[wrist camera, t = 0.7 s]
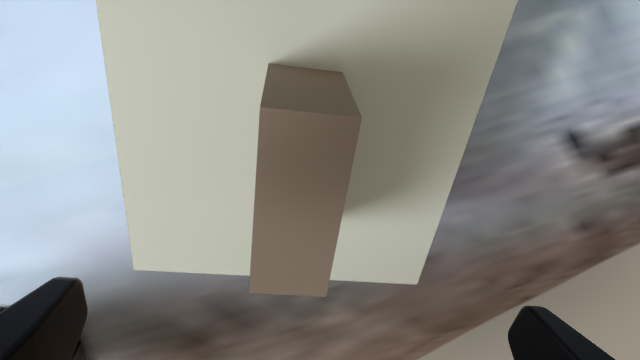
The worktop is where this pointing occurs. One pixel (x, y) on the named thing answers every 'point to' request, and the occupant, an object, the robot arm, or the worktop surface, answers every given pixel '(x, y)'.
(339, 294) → the worktop surface
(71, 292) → the robot arm
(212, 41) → the lid
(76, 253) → the worktop surface
